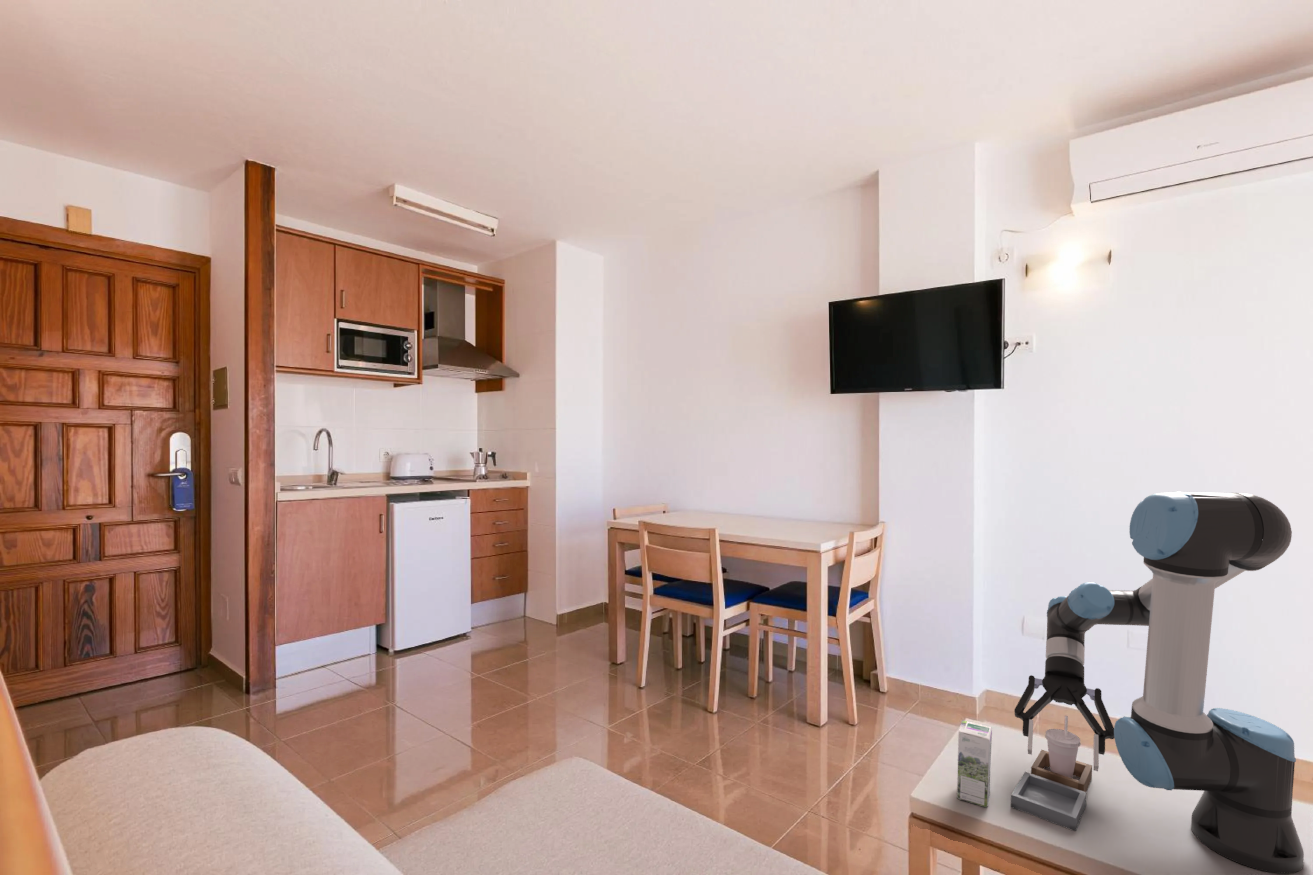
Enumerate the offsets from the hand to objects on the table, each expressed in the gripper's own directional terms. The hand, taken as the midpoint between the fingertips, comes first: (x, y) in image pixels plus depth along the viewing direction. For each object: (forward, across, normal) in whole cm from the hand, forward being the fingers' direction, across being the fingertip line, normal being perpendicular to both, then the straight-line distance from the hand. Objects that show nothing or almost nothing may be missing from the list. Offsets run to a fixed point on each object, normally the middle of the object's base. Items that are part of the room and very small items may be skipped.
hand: (1062, 759), depth 136 cm
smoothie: (+2, 0, -6) cm, 7 cm away
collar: (+2, 0, -6) cm, 6 cm away
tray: (+10, +2, +2) cm, 11 cm away
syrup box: (+14, +15, +6) cm, 21 cm away
